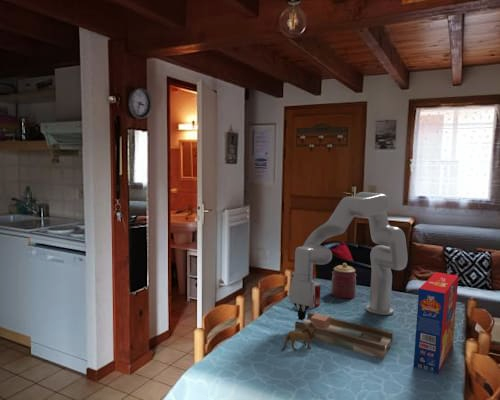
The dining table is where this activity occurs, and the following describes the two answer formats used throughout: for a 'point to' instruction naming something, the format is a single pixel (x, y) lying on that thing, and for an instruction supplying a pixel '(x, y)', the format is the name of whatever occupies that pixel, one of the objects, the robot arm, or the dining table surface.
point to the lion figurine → (301, 336)
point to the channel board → (352, 336)
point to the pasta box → (435, 321)
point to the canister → (344, 282)
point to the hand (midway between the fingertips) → (301, 319)
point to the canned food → (317, 293)
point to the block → (321, 320)
